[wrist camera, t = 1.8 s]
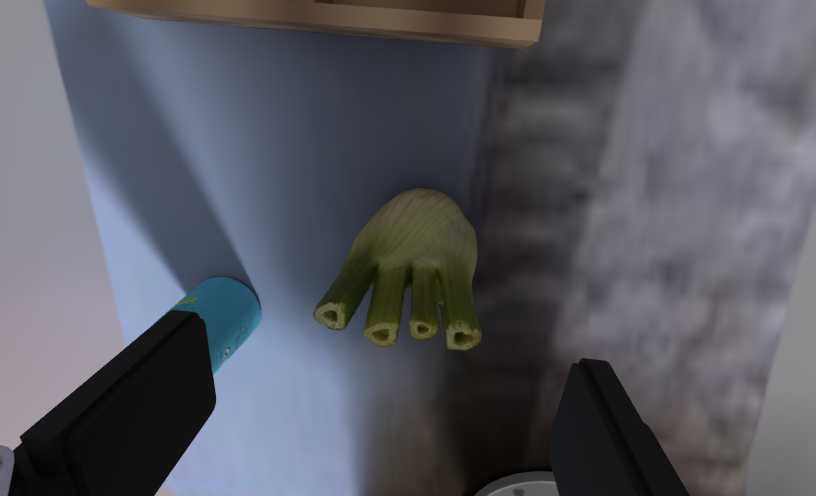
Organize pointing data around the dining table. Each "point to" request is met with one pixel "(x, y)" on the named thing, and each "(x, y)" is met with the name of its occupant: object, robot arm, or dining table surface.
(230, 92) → the dining table surface
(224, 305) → the tube
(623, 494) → the robot arm
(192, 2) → the wooden compartment tray
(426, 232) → the fennel bulb
